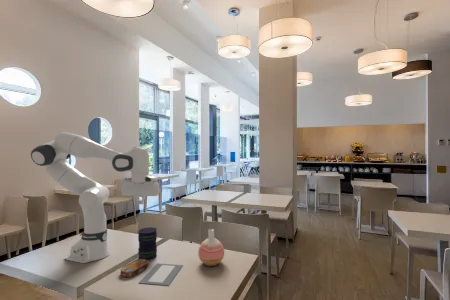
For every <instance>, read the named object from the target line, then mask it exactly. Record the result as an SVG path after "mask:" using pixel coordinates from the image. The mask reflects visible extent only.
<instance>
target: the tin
mask: <svg viewBox="0 0 450 300" xmlns="http://www.w3.org/2000/svg"><path fill="white" fill-rule="evenodd" d="M149 262H150V260H147V259H139V258H138V259H134V260H133V261H131V262H129V263H127V264H125V265H123V266H122V267H121V268H120V276H121V277H124V278H131V277H134V276H137V275H138V274H140V273H141V272H143V271H144V270H146V269H147V268H148V267H149Z"/></svg>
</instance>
